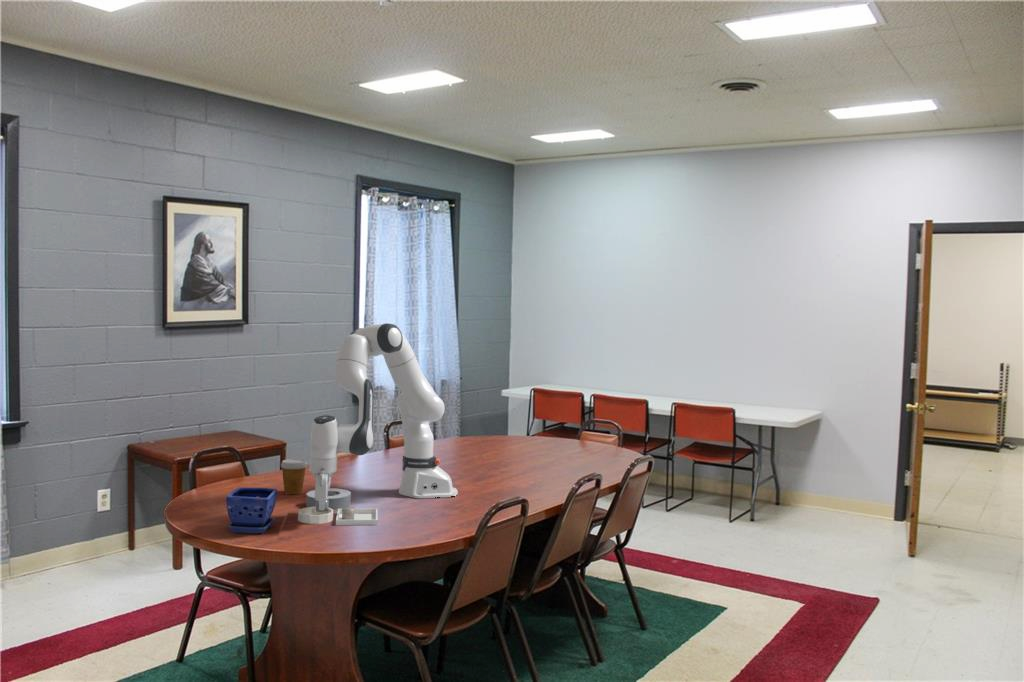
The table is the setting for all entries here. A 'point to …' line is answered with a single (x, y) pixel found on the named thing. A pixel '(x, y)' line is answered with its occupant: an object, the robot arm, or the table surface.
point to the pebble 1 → (325, 506)
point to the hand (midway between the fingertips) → (322, 507)
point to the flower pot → (251, 509)
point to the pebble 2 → (348, 513)
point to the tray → (359, 517)
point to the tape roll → (331, 498)
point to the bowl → (314, 516)
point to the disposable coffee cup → (293, 475)
